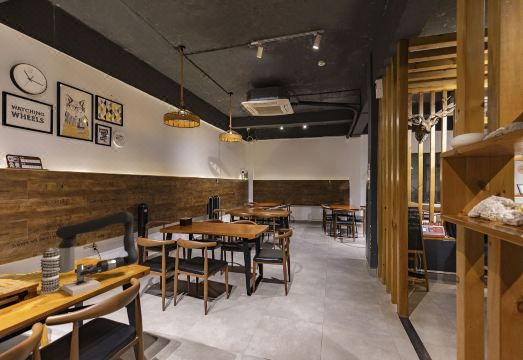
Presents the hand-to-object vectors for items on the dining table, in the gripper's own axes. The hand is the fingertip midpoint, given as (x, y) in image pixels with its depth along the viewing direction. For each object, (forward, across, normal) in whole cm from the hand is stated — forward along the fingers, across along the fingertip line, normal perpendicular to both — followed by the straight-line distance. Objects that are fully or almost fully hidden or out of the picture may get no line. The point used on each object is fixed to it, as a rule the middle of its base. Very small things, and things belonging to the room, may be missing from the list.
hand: (77, 272), depth 149 cm
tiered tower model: (+10, -10, +10) cm, 17 cm away
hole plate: (-1, +2, +10) cm, 10 cm away
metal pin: (-1, 0, +10) cm, 10 cm away
